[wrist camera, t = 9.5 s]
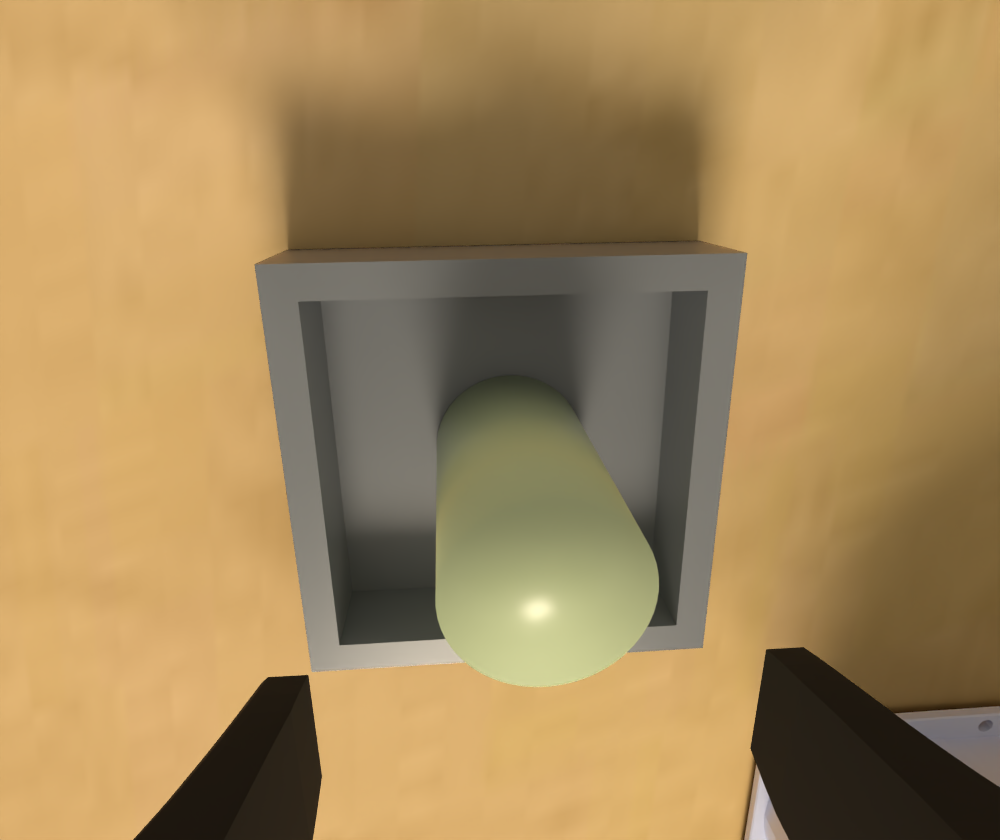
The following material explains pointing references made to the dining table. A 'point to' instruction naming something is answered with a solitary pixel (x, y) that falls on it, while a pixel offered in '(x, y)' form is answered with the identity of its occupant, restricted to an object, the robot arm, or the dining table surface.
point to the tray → (465, 362)
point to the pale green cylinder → (534, 540)
